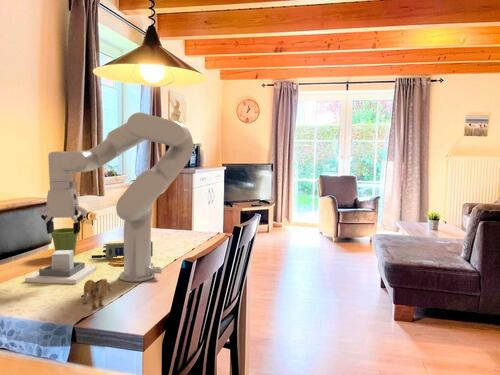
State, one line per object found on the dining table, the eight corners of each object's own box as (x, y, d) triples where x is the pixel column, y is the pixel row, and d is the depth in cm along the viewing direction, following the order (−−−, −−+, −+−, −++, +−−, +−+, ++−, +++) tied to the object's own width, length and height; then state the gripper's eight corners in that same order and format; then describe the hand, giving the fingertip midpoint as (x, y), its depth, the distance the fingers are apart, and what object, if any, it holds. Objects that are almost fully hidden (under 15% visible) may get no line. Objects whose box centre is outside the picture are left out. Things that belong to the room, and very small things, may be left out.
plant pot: (82, 251, 174) (82, 227, 173) (77, 258, 162) (77, 232, 161) (54, 252, 171) (53, 227, 170) (46, 260, 159) (46, 233, 158)
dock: (96, 269, 148) (96, 261, 147) (76, 283, 132) (76, 274, 132) (51, 268, 149) (51, 259, 148) (25, 281, 133) (25, 272, 132)
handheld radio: (152, 257, 169) (91, 260, 160) (152, 255, 172) (91, 259, 163) (152, 242, 168) (91, 245, 160) (152, 240, 171) (91, 243, 163)
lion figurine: (115, 308, 112) (115, 278, 112) (98, 314, 108) (98, 283, 107) (89, 296, 121) (88, 268, 121) (72, 300, 117) (72, 272, 116)
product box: (56, 269, 142) (56, 250, 142) (74, 268, 144) (74, 249, 143) (51, 274, 136) (51, 254, 136) (69, 273, 138) (69, 254, 137)
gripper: (89, 185, 141) (91, 231, 142) (44, 185, 141) (46, 230, 143) (80, 186, 133) (82, 235, 135) (31, 186, 134) (34, 235, 135)
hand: (63, 233), depth 139 cm, fingers open, 9 cm apart
